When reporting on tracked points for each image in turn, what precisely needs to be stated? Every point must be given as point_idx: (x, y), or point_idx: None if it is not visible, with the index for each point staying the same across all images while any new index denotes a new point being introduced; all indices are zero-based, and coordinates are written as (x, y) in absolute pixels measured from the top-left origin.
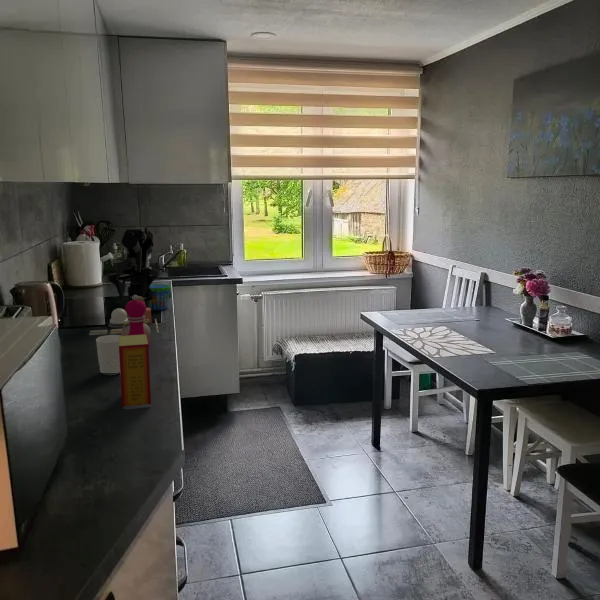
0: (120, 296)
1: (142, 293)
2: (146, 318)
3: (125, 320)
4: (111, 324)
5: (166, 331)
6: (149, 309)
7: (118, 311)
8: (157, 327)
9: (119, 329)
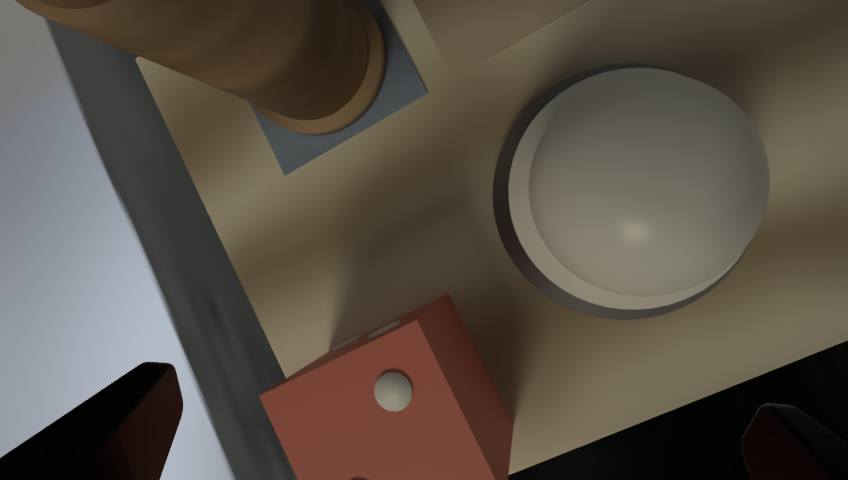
0: (817, 437)
1: (120, 377)
2: (350, 343)
3: (524, 156)
4: None
5: (137, 179)
6: (302, 450)
7: (623, 103)
8: (207, 202)
9: (522, 13)
